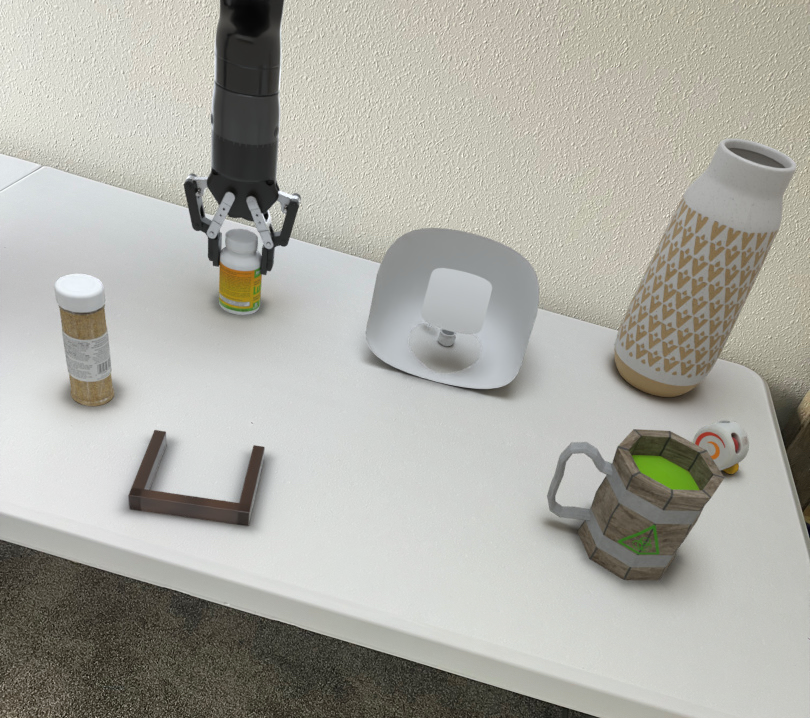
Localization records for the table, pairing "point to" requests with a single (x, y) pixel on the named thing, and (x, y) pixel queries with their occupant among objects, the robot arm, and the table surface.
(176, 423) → the table surface
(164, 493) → the frame
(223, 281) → the supplement bottle
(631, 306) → the vase
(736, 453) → the roller toy
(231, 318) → the table surface
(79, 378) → the sprinkles bottle
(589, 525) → the mug
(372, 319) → the rounded square lampshade
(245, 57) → the robot arm
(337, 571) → the table surface
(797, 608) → the table surface
